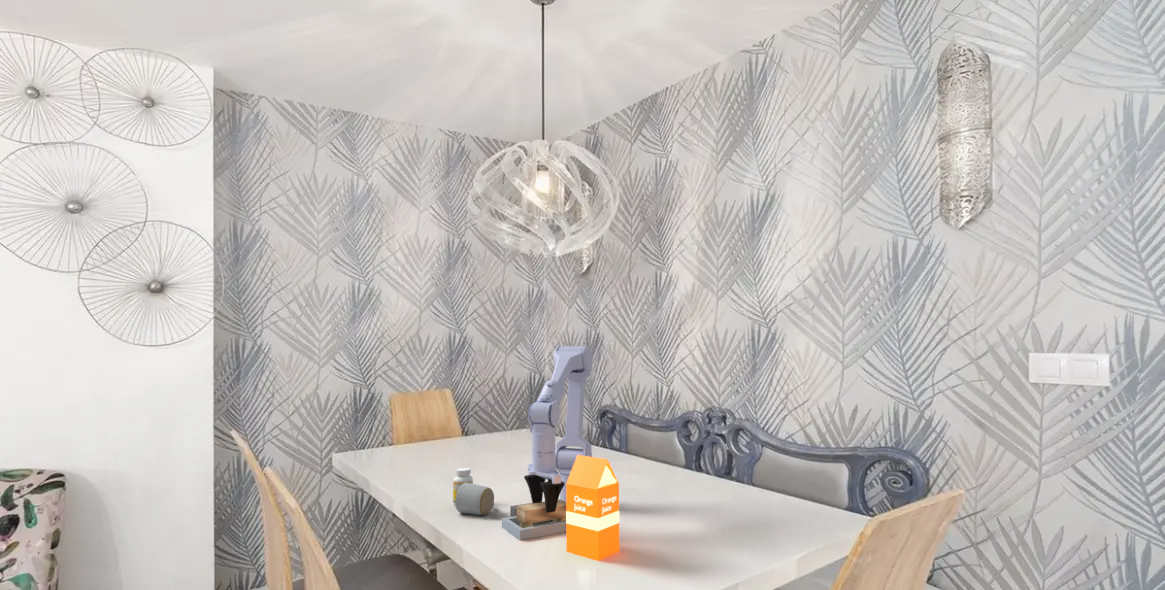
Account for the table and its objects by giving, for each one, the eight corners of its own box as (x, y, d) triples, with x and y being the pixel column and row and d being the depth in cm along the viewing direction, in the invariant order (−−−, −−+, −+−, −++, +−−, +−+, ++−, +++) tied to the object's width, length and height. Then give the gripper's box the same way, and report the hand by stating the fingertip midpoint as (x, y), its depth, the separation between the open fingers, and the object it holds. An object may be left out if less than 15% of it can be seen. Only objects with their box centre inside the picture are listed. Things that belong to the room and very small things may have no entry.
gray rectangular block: (538, 511, 158) (538, 501, 158) (543, 514, 156) (543, 504, 156) (510, 515, 154) (510, 506, 154) (515, 518, 152) (515, 508, 152)
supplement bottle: (465, 507, 162) (466, 471, 163) (449, 505, 164) (449, 470, 165) (475, 502, 167) (476, 468, 168) (459, 500, 169) (460, 466, 170)
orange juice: (588, 542, 134) (588, 452, 135) (620, 551, 128) (619, 456, 130) (565, 551, 128) (565, 457, 129) (597, 561, 122) (597, 462, 124)
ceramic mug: (481, 519, 152) (482, 488, 152) (454, 515, 154) (455, 485, 155) (501, 509, 162) (501, 480, 162) (475, 506, 164) (475, 477, 165)
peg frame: (564, 517, 153) (564, 507, 153) (585, 528, 144) (585, 517, 144) (501, 527, 144) (501, 517, 145) (519, 540, 135) (519, 529, 135)
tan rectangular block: (560, 511, 149) (560, 499, 150) (569, 516, 145) (569, 503, 145) (516, 518, 143) (516, 505, 144) (524, 524, 139) (525, 510, 139)
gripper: (516, 448, 150) (516, 503, 149) (542, 458, 137) (542, 518, 136) (542, 445, 153) (542, 499, 152) (568, 454, 141) (569, 513, 140)
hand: (543, 507), depth 145 cm, fingers open, 7 cm apart
